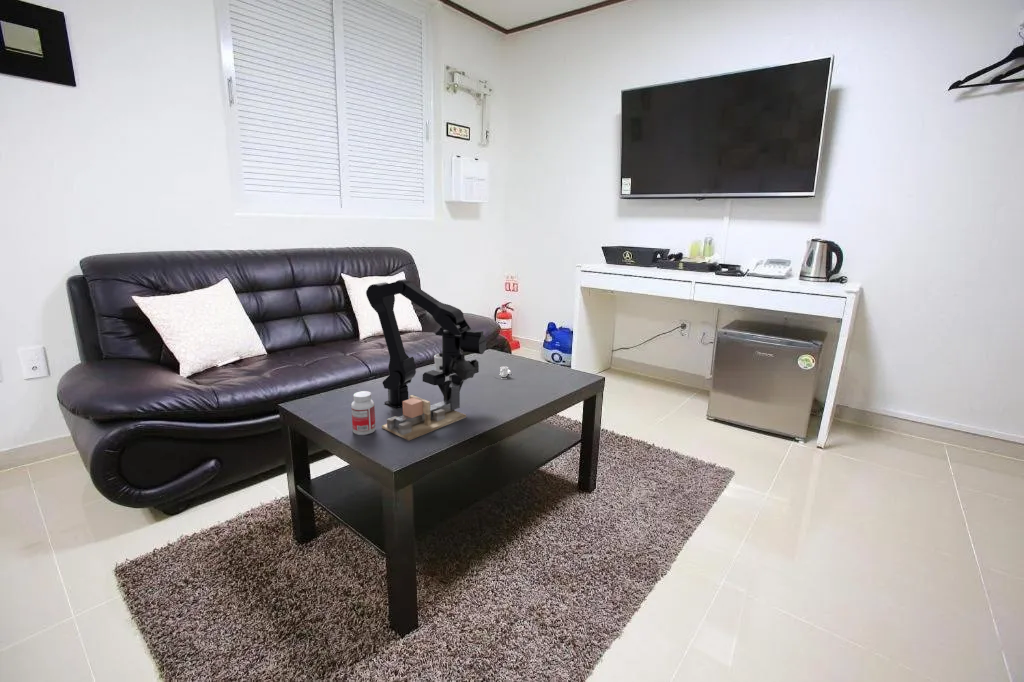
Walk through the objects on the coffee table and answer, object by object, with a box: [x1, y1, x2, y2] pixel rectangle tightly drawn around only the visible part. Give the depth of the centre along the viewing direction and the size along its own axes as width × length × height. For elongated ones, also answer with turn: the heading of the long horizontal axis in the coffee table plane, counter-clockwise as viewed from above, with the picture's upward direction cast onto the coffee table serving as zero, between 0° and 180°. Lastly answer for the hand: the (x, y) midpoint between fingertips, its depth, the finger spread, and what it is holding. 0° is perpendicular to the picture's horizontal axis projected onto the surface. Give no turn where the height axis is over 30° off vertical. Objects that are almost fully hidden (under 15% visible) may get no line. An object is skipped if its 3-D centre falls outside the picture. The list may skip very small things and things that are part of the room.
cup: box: [433, 353, 443, 372], centre depth 184 cm, size 11×8×8 cm
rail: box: [381, 394, 467, 442], centre depth 139 cm, size 12×22×8 cm, turn 141°
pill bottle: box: [350, 390, 376, 436], centre depth 132 cm, size 6×6×11 cm
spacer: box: [402, 398, 423, 418], centre depth 135 cm, size 4×4×4 cm
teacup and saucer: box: [499, 365, 512, 378], centre depth 185 cm, size 9×8×4 cm
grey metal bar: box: [394, 383, 461, 429], centre depth 140 cm, size 4×22×8 cm, turn 141°
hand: (451, 398), depth 147 cm, fingers closed on grey metal bar, 3 cm apart
